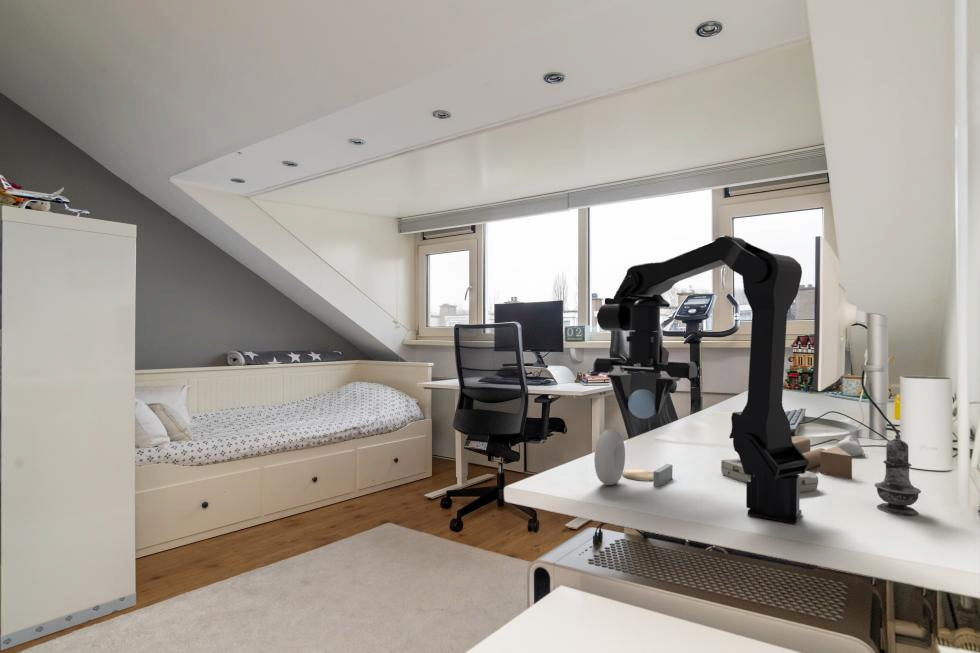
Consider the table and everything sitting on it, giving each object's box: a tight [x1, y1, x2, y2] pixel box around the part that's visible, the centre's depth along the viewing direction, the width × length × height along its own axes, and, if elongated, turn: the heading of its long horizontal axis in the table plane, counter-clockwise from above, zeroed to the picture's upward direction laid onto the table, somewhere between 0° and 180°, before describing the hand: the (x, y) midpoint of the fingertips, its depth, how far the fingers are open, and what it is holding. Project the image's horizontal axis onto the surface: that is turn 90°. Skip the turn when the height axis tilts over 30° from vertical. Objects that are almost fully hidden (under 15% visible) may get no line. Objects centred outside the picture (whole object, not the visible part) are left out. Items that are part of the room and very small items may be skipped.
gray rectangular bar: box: [652, 463, 673, 487], centre depth 101 cm, size 1×8×2 cm, turn 143°
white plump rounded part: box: [594, 428, 626, 486], centre depth 98 cm, size 10×4×10 cm, turn 149°
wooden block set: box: [791, 435, 853, 480], centre depth 116 cm, size 17×6×18 cm
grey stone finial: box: [874, 433, 922, 517], centre depth 86 cm, size 6×6×12 cm
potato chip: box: [622, 469, 654, 482], centre depth 104 cm, size 7×7×1 cm
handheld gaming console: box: [720, 458, 819, 493], centre depth 102 cm, size 9×4×15 cm
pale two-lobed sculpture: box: [836, 434, 865, 457], centre depth 128 cm, size 4×8×5 cm
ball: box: [628, 388, 656, 420], centre depth 105 cm, size 6×6×6 cm
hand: (642, 412), depth 105 cm, fingers closed on ball, 6 cm apart
